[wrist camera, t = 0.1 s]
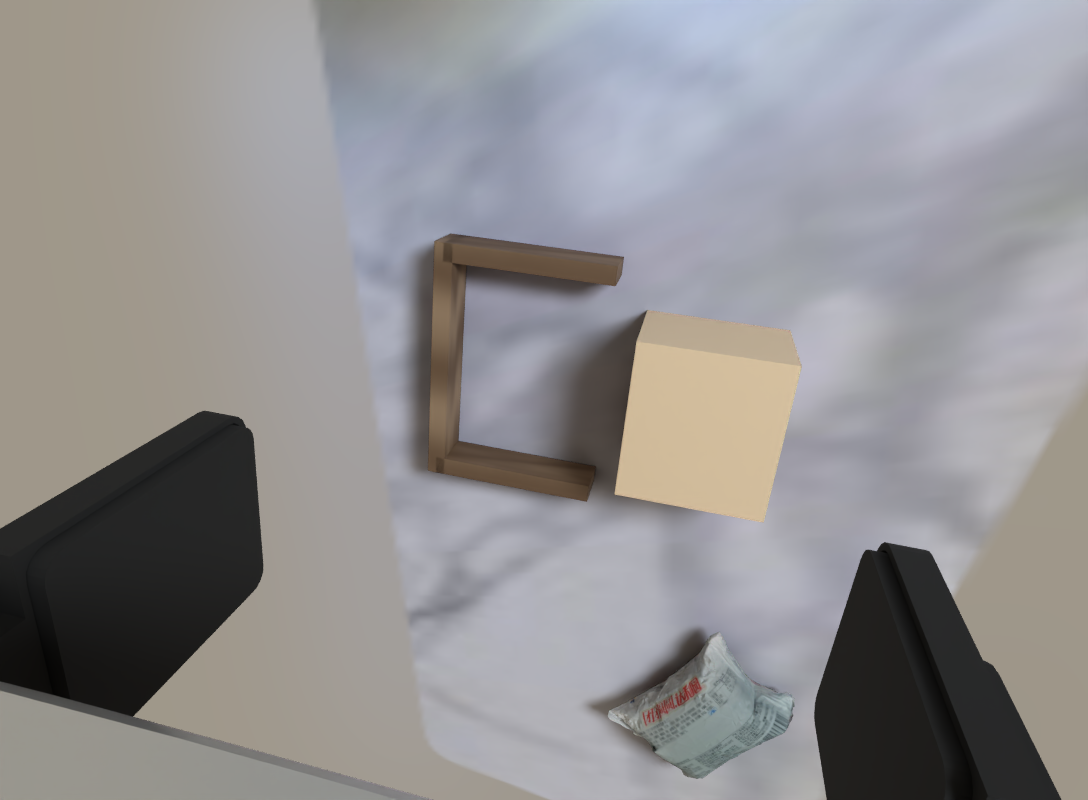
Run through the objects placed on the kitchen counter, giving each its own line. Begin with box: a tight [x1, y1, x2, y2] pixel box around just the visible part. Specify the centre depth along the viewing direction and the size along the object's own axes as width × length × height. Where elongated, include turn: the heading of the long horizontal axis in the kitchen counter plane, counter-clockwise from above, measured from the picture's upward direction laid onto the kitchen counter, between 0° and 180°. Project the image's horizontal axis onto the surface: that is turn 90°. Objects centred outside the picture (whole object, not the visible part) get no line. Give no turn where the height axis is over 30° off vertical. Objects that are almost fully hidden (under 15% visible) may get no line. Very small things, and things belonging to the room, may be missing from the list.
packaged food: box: [608, 632, 794, 779], centre depth 55 cm, size 9×12×5 cm
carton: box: [615, 310, 802, 522], centre depth 45 cm, size 10×9×7 cm
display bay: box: [428, 234, 624, 502], centre depth 48 cm, size 16×12×3 cm
